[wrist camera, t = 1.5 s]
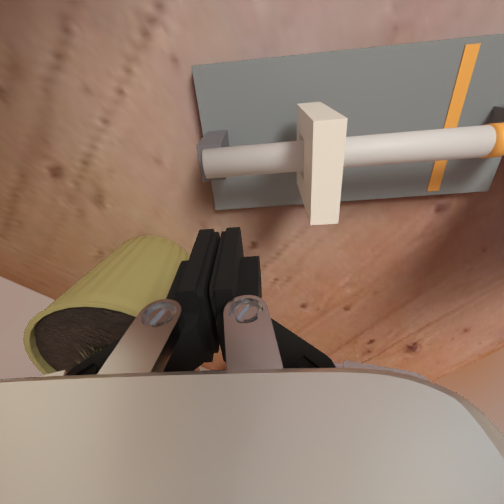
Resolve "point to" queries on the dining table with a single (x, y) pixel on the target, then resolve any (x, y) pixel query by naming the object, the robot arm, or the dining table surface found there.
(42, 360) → the potted cactus
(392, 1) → the dining table surface
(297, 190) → the pipe rig
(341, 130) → the collar
